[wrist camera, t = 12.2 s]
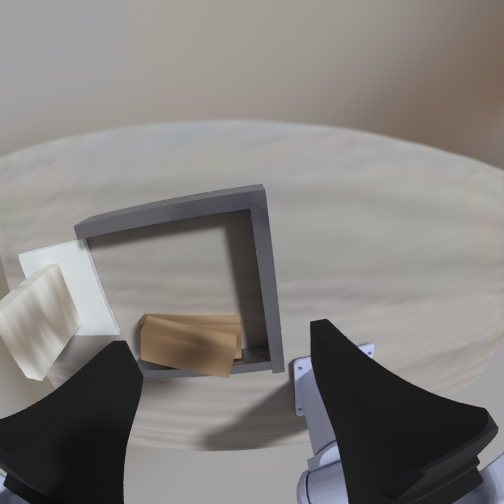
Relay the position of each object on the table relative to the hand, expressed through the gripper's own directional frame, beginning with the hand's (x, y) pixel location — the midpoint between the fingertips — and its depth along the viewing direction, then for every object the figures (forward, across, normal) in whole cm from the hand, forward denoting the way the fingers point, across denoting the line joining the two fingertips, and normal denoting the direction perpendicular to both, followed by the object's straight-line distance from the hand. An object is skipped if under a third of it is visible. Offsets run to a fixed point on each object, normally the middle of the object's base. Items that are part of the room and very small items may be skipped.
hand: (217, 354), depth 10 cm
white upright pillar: (+10, +16, +2) cm, 18 cm away
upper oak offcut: (+9, +4, +6) cm, 12 cm away
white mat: (+10, +16, +2) cm, 19 cm away
